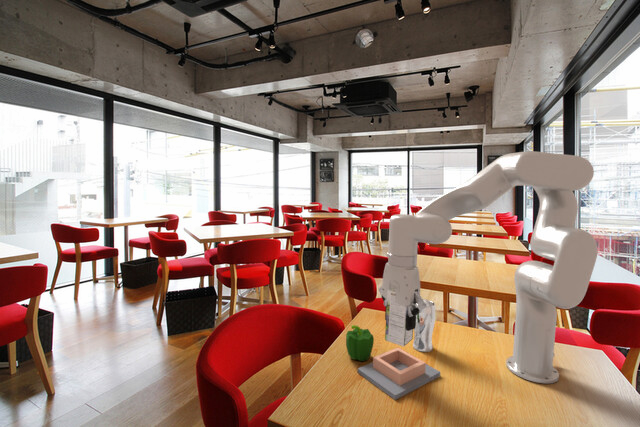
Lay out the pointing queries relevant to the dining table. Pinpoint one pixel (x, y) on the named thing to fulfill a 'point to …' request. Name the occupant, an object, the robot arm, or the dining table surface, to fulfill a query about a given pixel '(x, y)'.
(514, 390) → the dining table surface
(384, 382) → the socket board
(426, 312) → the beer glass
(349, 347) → the bell pepper
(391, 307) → the syrup box
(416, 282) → the robot arm
